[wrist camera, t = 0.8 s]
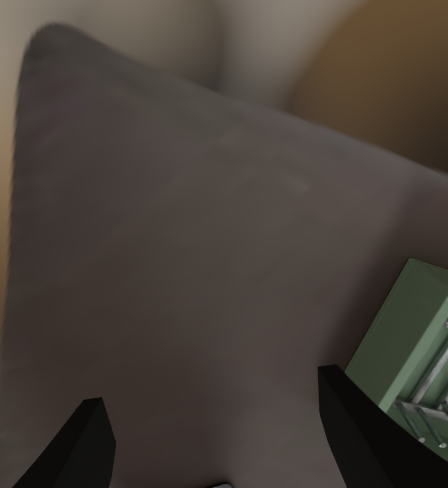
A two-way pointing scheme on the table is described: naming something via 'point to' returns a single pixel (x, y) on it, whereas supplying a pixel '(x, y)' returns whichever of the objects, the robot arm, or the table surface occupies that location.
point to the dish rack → (442, 409)
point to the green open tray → (407, 346)
